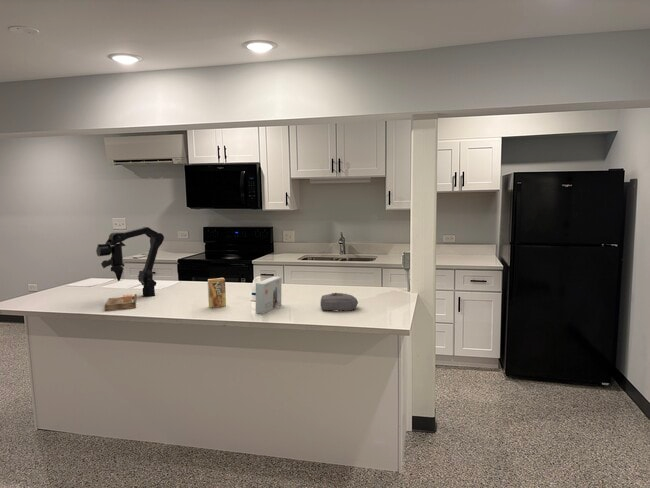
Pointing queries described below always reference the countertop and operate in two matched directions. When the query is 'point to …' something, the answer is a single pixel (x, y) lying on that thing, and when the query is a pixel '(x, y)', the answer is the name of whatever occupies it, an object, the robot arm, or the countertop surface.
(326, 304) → the small grey backpack
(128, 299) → the block
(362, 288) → the countertop surface
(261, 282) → the skincare box
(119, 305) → the trap board
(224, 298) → the candy box
